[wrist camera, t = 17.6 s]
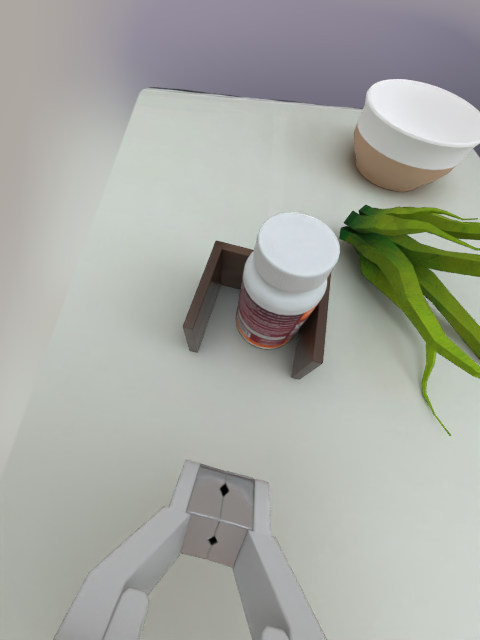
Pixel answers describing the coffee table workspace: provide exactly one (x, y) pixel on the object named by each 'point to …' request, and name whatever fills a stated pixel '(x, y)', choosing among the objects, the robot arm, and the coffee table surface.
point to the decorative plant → (419, 274)
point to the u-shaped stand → (229, 271)
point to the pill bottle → (284, 278)
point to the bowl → (412, 134)
